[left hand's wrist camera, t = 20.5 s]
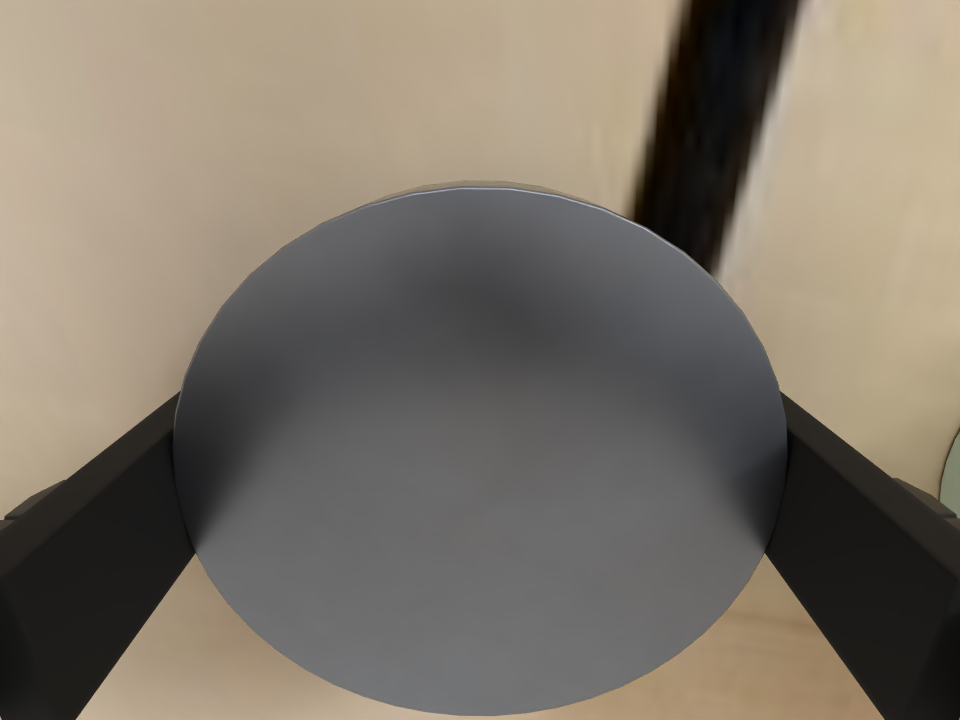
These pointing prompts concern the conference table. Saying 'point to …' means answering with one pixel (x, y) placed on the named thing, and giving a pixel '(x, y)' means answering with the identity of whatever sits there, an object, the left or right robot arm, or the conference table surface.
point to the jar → (952, 479)
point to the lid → (480, 450)
